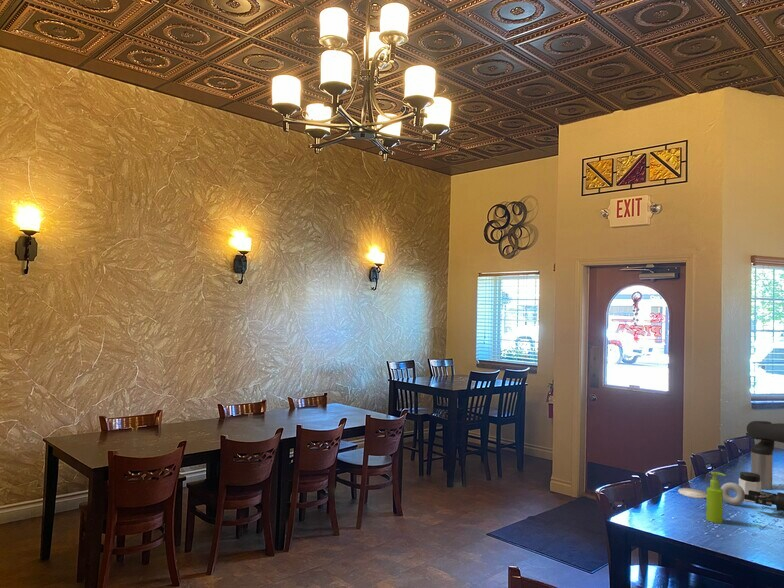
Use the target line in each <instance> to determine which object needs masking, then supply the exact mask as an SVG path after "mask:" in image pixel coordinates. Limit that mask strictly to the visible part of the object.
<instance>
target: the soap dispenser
mask: <svg viewBox="0 0 784 588" xmlns="http://www.w3.org/2000/svg"><path fill="white" fill-rule="evenodd" d="M711 475H712V478H711V479H709V480H710V482H709V483H710V485H709V486H707V487H706V493H707V498H706V507H705V508H706V513H705V514H706V517H705V520H706V519H707V520H708V521H707V520H706V521H707V522H709V521H711V522H710V523H713V522H714V523H713V524H723V515H724V514H723V511H724V509H723V508H724V507H723V506H724V505H723V504H724V500H723V490H722V489H721V487H720V480H718V476H723V477H726V476H727V474H726V473H723V472H718V471H711Z"/></svg>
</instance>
